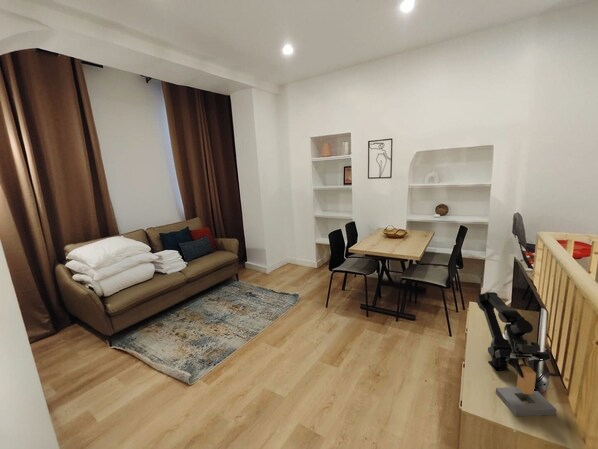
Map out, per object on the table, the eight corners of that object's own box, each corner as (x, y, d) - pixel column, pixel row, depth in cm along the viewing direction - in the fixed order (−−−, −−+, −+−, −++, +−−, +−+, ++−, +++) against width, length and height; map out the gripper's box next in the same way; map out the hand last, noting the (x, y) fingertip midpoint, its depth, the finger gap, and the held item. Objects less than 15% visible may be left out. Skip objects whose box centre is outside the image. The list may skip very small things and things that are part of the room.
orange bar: (516, 386, 118) (518, 366, 116) (526, 386, 118) (528, 366, 116) (523, 394, 115) (526, 373, 113) (533, 393, 114) (536, 373, 112)
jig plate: (495, 392, 124) (496, 387, 123) (532, 391, 123) (532, 386, 123) (515, 416, 112) (515, 410, 112) (555, 414, 111) (556, 409, 111)
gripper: (499, 333, 117) (512, 374, 109) (550, 335, 114) (567, 378, 105) (490, 338, 127) (500, 376, 118) (536, 340, 123) (551, 380, 114)
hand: (528, 378), depth 114 cm, fingers closed on orange bar, 4 cm apart
